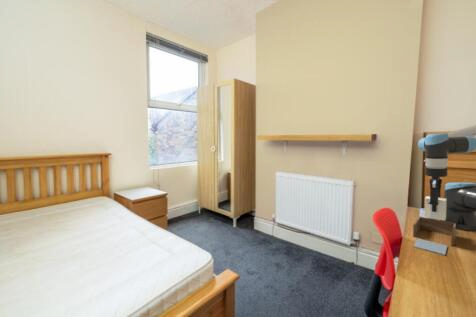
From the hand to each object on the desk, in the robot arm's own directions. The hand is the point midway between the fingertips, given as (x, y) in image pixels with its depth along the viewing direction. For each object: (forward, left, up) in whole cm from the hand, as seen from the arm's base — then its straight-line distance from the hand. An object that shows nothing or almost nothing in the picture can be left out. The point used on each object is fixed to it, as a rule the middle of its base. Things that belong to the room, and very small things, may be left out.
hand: (435, 216), depth 99 cm
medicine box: (-11, -12, -11) cm, 20 cm away
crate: (-2, -2, -11) cm, 11 cm away
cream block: (0, 0, 0) cm, 0 cm away
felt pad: (+9, +6, -11) cm, 16 cm away
